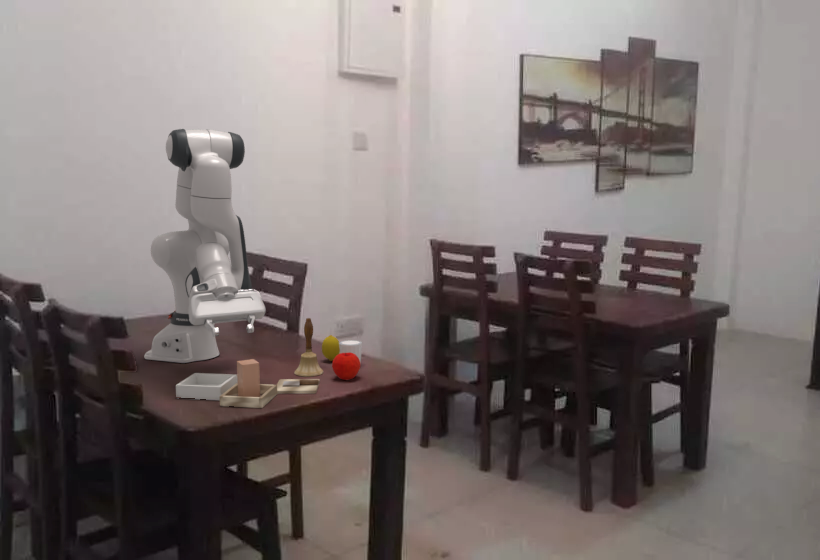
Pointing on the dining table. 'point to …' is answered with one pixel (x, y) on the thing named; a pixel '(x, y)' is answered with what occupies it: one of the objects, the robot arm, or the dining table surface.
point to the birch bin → (251, 402)
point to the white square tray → (205, 386)
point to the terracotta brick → (248, 378)
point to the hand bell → (308, 355)
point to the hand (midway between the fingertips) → (233, 333)
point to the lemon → (330, 347)
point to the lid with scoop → (297, 386)
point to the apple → (346, 365)
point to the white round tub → (351, 347)
